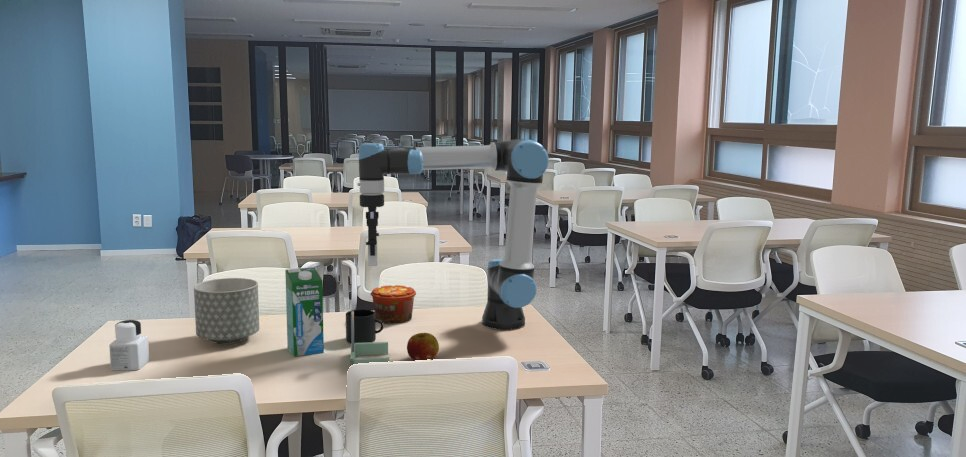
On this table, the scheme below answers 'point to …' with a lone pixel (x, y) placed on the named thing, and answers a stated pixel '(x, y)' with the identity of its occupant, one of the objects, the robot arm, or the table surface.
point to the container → (129, 347)
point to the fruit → (422, 346)
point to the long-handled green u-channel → (366, 348)
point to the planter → (226, 309)
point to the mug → (362, 326)
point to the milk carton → (304, 311)
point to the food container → (393, 303)
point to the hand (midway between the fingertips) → (372, 261)
